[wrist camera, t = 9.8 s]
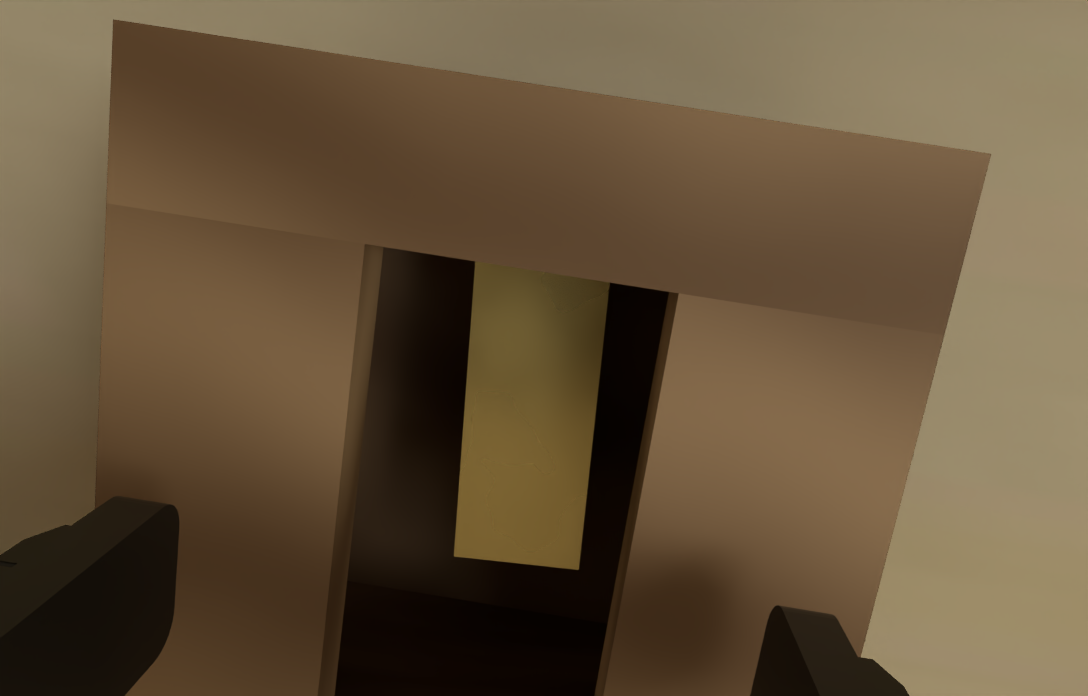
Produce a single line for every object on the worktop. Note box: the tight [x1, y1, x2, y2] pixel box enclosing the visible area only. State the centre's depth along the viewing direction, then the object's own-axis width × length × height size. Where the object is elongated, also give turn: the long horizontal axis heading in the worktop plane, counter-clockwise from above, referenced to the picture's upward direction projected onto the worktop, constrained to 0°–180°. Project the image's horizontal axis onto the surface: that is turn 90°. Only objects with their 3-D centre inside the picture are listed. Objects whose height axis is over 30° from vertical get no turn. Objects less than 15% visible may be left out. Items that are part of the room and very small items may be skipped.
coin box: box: [95, 20, 991, 696], centre depth 18 cm, size 14×12×10 cm
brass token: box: [454, 261, 610, 570], centre depth 19 cm, size 6×2×6 cm, turn 175°
